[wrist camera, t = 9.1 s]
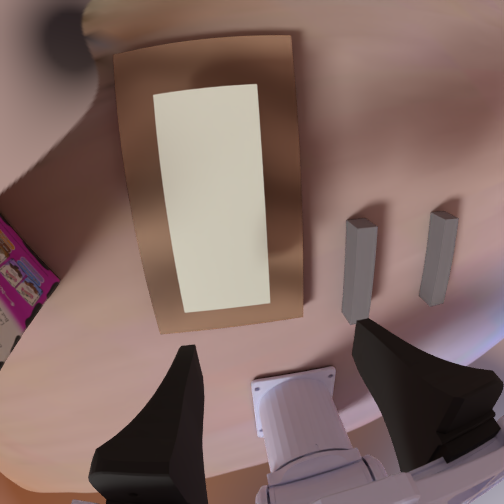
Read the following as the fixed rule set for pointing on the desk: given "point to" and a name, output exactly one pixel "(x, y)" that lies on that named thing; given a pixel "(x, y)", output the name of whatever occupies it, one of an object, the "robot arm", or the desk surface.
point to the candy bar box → (20, 288)
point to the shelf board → (214, 194)
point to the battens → (363, 263)
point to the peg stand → (273, 159)
